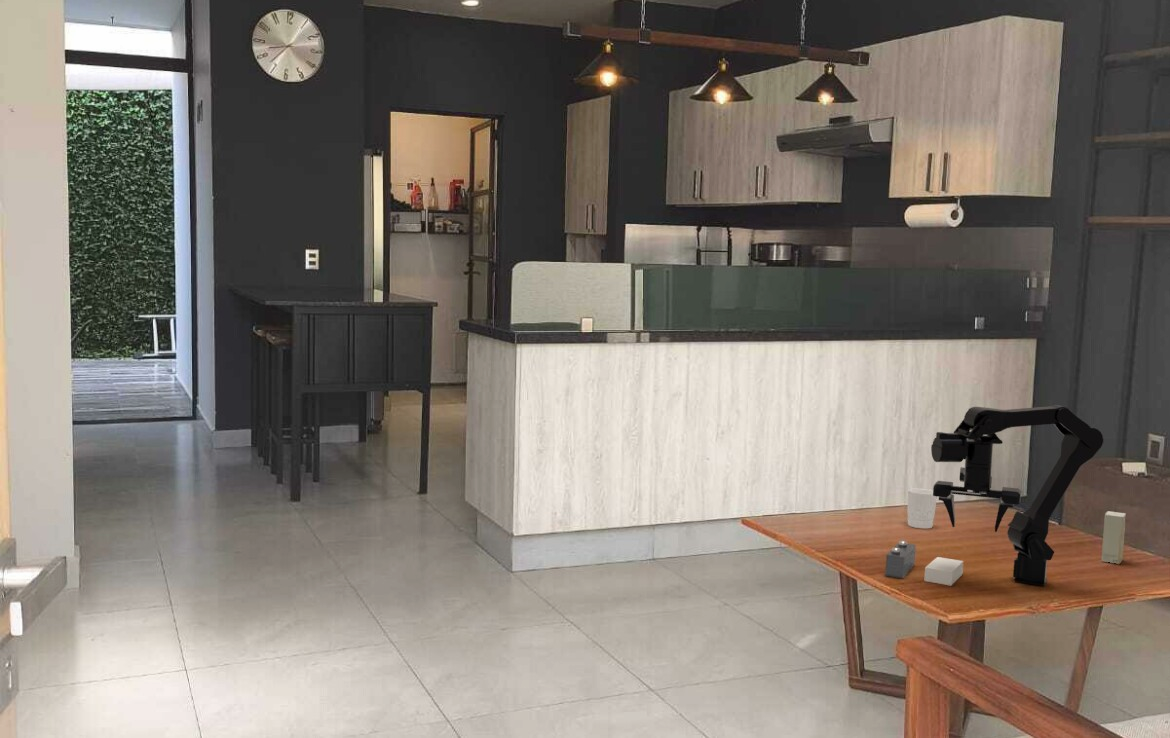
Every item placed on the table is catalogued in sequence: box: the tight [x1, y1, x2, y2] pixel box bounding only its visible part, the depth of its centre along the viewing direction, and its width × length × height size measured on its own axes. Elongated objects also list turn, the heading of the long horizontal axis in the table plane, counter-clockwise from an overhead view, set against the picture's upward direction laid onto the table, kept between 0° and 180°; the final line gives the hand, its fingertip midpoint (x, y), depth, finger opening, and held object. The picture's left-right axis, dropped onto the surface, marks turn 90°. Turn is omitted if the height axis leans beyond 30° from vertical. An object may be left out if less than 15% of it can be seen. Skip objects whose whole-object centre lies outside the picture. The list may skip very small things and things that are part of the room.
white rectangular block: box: [923, 556, 964, 587], centre depth 254 cm, size 6×12×4 cm, turn 149°
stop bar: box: [884, 540, 917, 579], centre depth 259 cm, size 4×14×6 cm, turn 152°
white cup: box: [906, 487, 938, 530], centre depth 307 cm, size 8×8×10 cm
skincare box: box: [1100, 510, 1127, 565], centre depth 276 cm, size 6×4×12 cm
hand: (974, 529), depth 252 cm, fingers open, 9 cm apart
